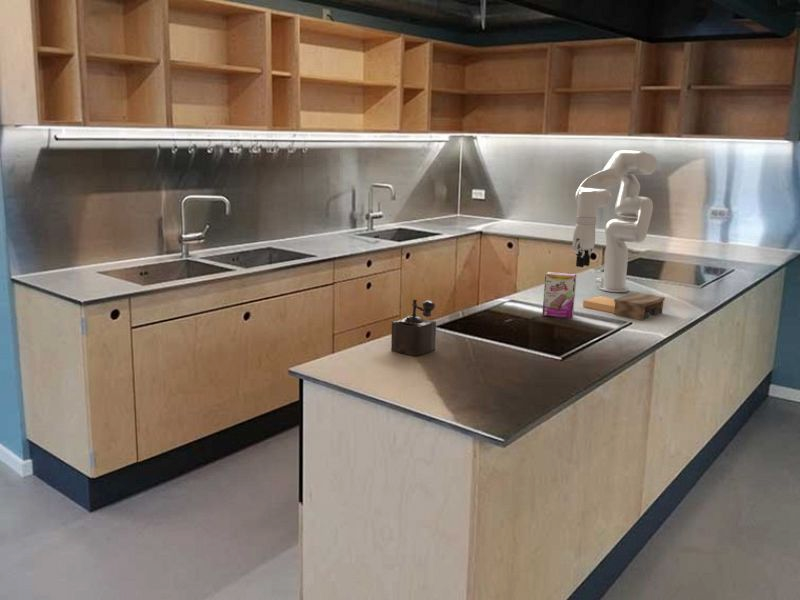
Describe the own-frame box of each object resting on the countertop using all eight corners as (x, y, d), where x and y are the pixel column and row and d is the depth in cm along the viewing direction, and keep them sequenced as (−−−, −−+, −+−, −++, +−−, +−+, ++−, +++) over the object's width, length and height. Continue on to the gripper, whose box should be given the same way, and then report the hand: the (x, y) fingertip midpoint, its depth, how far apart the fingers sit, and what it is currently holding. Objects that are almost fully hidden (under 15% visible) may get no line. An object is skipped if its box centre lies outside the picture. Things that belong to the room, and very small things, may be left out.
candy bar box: (542, 316, 272) (544, 273, 268) (543, 313, 277) (546, 271, 273) (572, 319, 268) (575, 276, 265) (573, 316, 273) (576, 273, 269)
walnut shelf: (613, 314, 276) (614, 299, 275) (635, 307, 288) (637, 292, 287) (641, 320, 268) (642, 304, 267) (663, 312, 280) (664, 297, 279)
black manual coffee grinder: (388, 351, 226) (389, 295, 222) (410, 343, 235) (411, 289, 230) (428, 361, 217) (429, 303, 213) (449, 352, 225) (451, 296, 221)
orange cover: (582, 306, 288) (583, 300, 288) (598, 302, 297) (598, 296, 296) (614, 313, 279) (615, 306, 278) (629, 308, 287) (630, 301, 286)
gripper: (588, 218, 297) (585, 262, 301) (566, 221, 285) (563, 267, 289) (605, 220, 291) (601, 265, 296) (583, 223, 280) (579, 270, 284)
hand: (582, 265), depth 292 cm, fingers open, 3 cm apart
